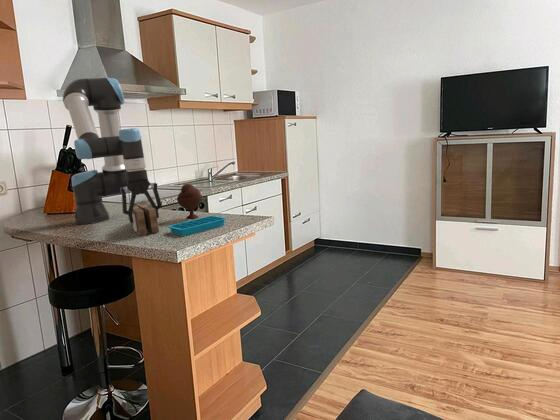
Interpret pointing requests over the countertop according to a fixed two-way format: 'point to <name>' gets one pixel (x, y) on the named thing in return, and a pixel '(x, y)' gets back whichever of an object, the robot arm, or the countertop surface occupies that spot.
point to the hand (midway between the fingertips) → (146, 228)
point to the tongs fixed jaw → (139, 220)
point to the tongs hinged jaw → (150, 218)
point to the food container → (147, 202)
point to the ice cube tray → (197, 225)
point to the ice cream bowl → (189, 199)
